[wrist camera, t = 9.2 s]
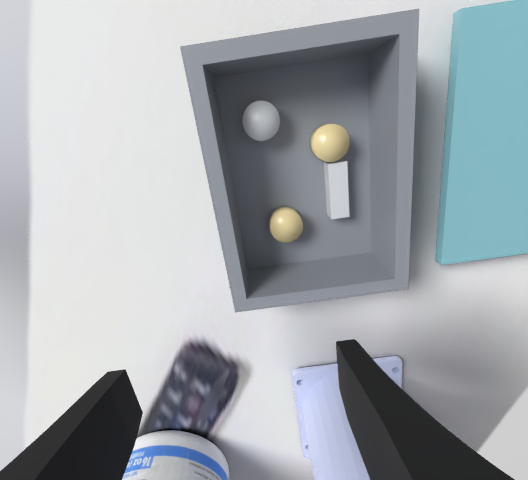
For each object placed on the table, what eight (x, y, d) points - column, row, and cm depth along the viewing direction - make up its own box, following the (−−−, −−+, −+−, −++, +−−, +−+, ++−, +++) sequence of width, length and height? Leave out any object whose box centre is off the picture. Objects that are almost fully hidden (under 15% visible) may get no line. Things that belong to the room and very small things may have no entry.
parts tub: (378, 256, 19) (408, 288, 15) (239, 276, 19) (235, 312, 16) (378, 38, 15) (419, 8, 11) (198, 65, 15) (180, 46, 11)
